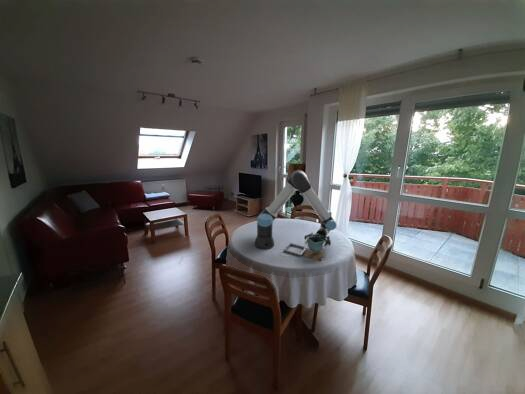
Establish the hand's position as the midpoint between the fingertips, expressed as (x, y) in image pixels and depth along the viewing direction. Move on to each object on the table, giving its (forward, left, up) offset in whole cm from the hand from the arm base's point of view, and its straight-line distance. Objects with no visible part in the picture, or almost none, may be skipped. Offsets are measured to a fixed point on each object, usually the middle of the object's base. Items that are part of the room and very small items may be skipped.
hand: (314, 244), depth 143 cm
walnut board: (0, +4, -9) cm, 10 cm away
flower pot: (0, +4, -7) cm, 8 cm away
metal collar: (-14, +3, -9) cm, 17 cm away
